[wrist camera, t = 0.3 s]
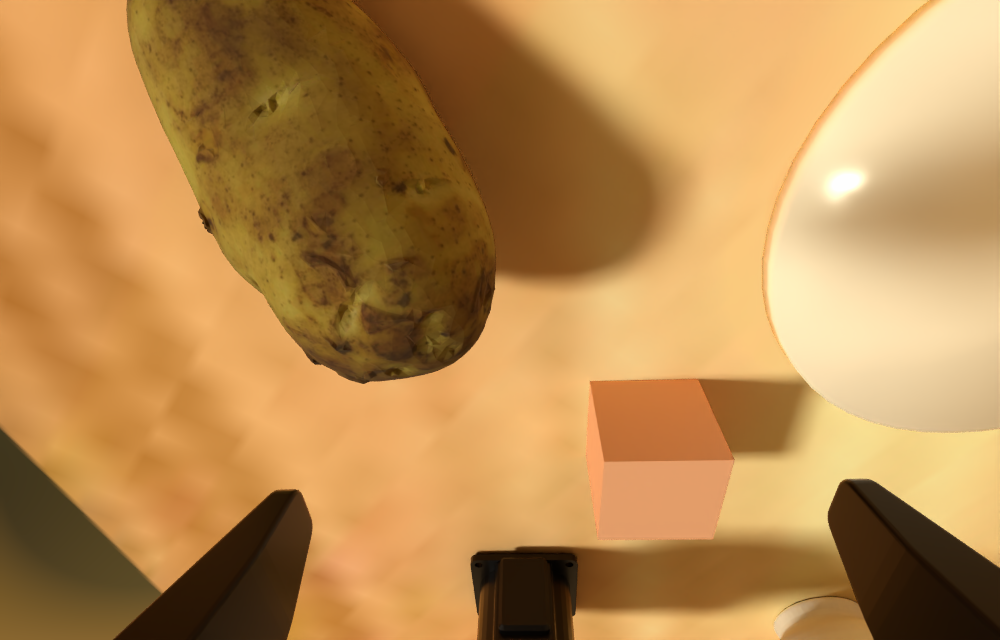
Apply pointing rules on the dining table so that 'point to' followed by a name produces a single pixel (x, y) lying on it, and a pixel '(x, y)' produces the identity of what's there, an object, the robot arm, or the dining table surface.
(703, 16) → the dining table surface
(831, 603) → the teacup
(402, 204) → the potato
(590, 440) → the block
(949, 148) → the plate
